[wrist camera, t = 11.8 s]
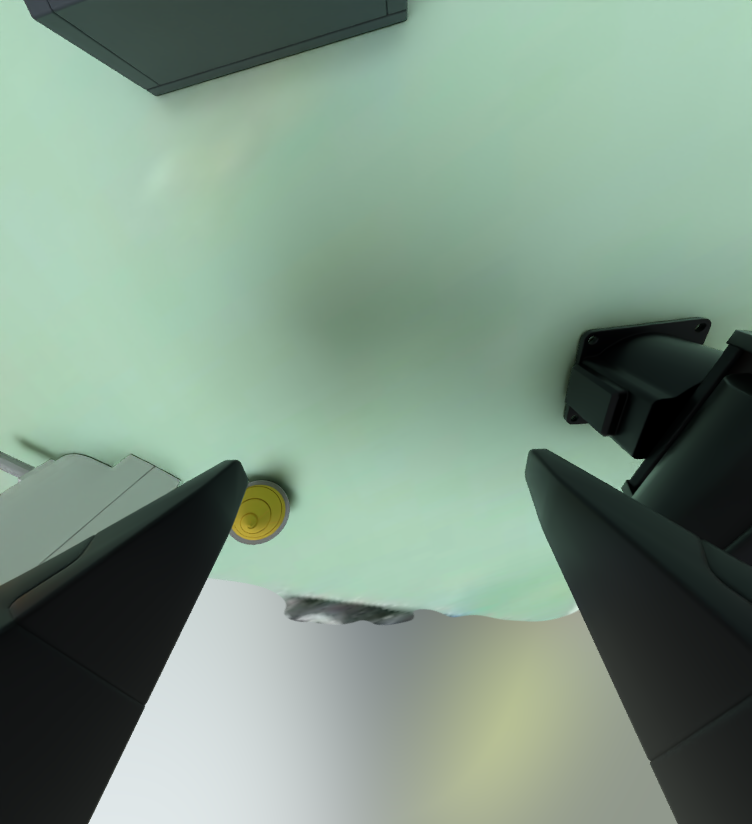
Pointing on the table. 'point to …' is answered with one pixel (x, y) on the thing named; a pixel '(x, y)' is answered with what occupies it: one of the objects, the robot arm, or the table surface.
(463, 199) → the table surface
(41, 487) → the grey machine part
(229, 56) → the big bin
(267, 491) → the yellow ridged cone
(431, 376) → the table surface
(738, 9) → the table surface
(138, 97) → the table surface
